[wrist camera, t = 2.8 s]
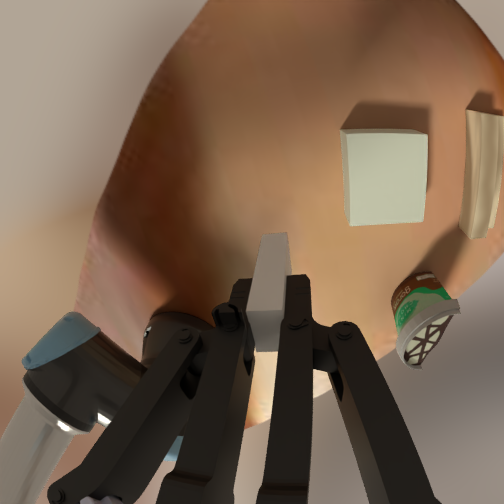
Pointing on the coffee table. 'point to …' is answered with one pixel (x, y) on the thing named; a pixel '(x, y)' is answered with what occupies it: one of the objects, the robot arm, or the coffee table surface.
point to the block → (384, 175)
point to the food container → (421, 316)
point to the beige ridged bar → (482, 172)
